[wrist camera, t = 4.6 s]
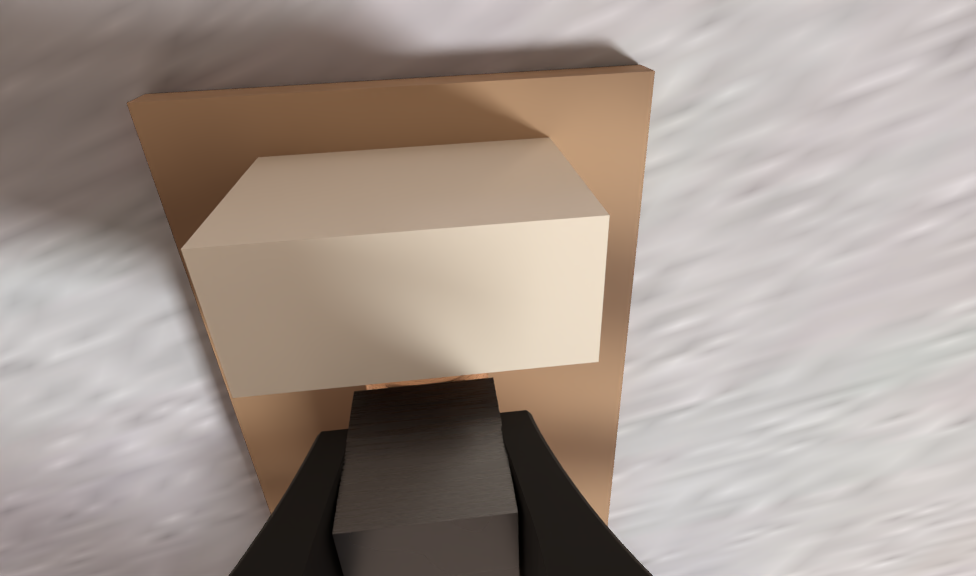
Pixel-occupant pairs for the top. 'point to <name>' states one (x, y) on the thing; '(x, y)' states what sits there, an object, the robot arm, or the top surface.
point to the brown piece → (427, 482)
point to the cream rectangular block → (401, 266)
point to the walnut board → (409, 123)
